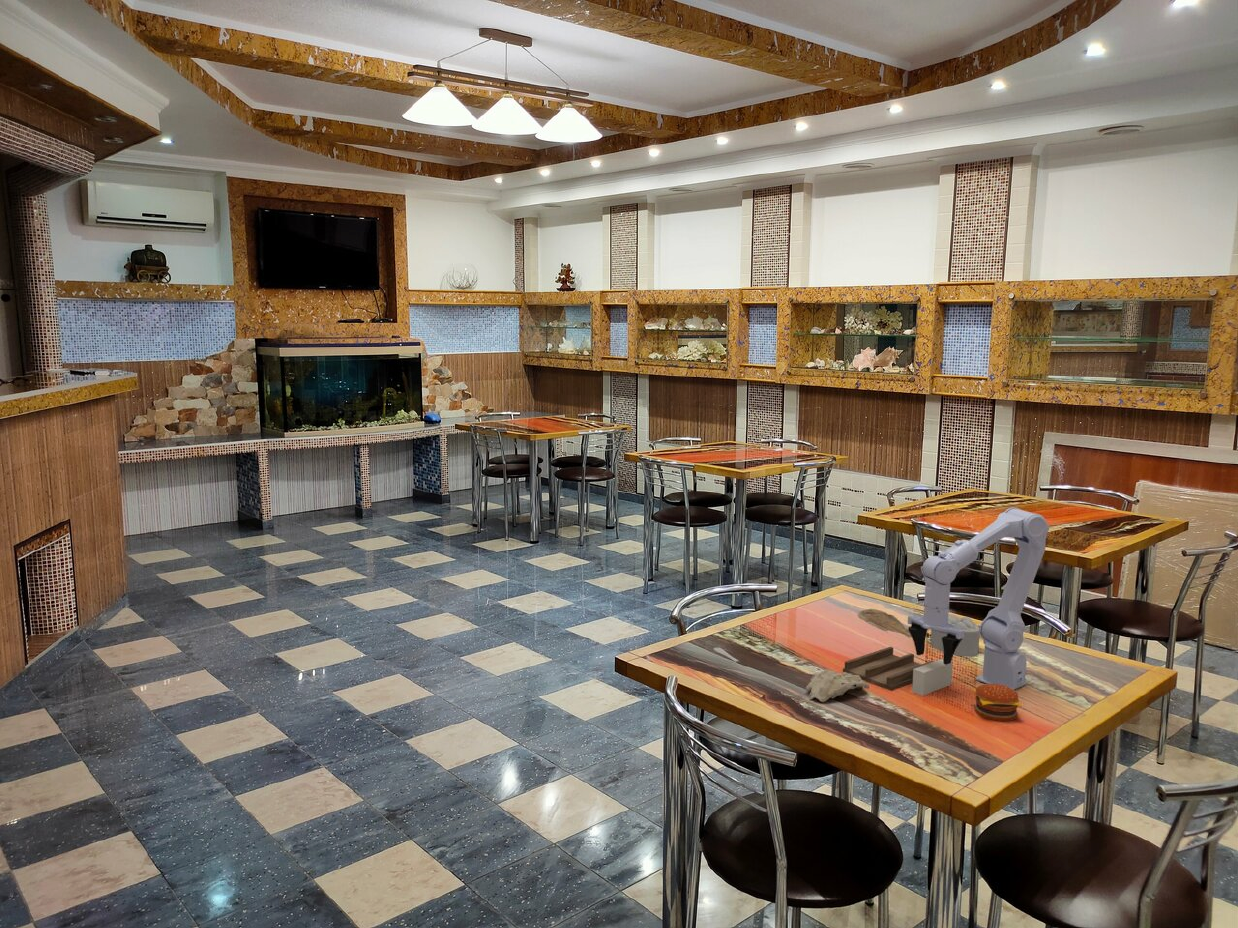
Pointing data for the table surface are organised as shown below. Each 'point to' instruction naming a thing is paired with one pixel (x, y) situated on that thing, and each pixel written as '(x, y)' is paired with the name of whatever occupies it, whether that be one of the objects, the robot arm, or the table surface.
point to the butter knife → (724, 653)
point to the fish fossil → (883, 621)
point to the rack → (884, 668)
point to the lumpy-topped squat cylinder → (968, 643)
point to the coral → (833, 684)
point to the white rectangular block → (932, 677)
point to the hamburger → (996, 702)
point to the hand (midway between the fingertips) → (933, 658)
